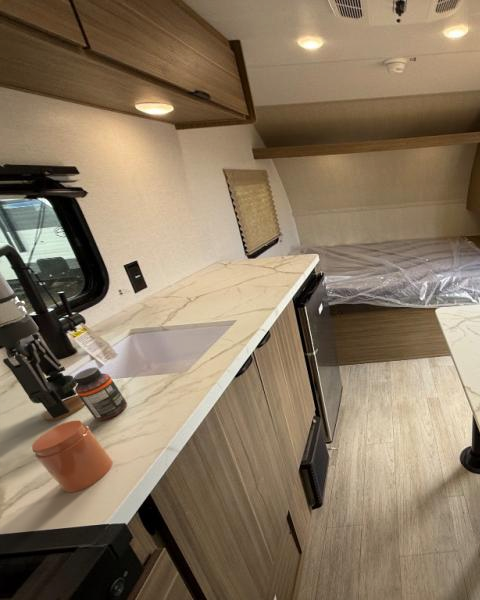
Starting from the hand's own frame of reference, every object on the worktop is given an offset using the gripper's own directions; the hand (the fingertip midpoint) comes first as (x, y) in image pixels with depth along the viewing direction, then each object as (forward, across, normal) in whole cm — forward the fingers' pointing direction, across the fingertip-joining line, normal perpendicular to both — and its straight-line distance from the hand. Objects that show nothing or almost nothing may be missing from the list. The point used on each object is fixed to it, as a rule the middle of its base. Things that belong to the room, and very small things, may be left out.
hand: (65, 405), depth 76 cm
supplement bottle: (+1, -10, -9) cm, 14 cm away
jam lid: (-5, 0, 0) cm, 5 cm away
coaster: (+1, 0, 0) cm, 1 cm away
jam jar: (+1, -30, -8) cm, 31 cm away
